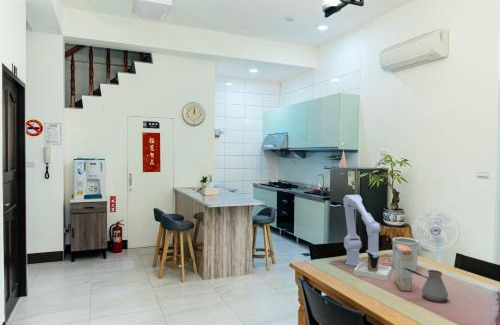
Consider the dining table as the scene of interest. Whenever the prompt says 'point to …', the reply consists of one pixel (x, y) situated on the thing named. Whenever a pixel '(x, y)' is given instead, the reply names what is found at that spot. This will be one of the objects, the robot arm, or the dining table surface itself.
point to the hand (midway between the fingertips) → (372, 266)
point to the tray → (380, 274)
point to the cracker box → (403, 267)
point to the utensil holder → (411, 244)
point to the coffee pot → (433, 286)
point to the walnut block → (371, 267)
